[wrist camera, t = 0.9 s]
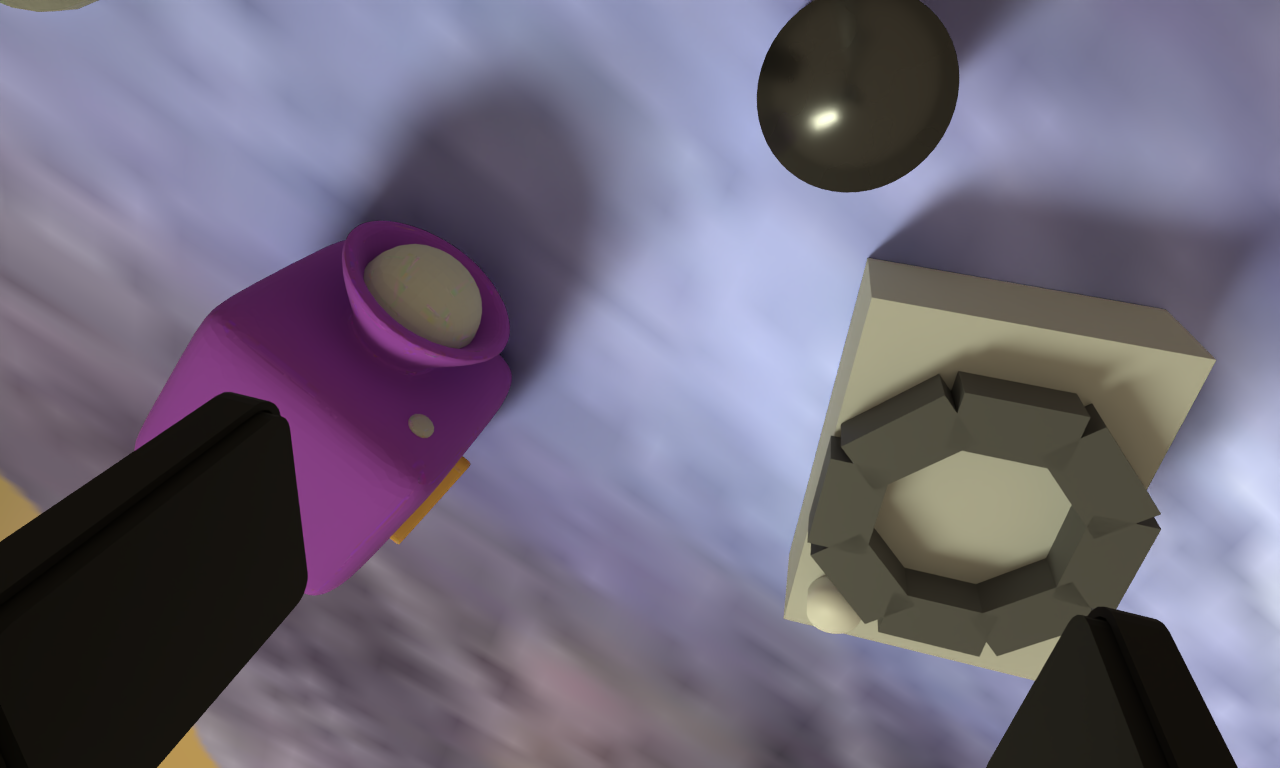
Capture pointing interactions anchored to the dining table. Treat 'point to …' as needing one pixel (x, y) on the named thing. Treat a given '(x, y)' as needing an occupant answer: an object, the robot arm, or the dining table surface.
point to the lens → (857, 91)
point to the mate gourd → (47, 4)
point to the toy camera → (358, 381)
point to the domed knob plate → (986, 464)
